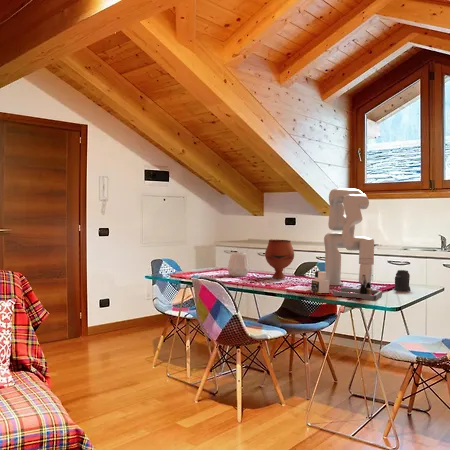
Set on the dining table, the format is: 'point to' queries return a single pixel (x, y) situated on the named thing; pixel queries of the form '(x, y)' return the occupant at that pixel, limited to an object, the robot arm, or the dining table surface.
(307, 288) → the dining table surface
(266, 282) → the dining table surface
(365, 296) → the tray
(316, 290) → the medicine bottle
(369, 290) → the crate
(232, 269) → the vase
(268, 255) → the goblet
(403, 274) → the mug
